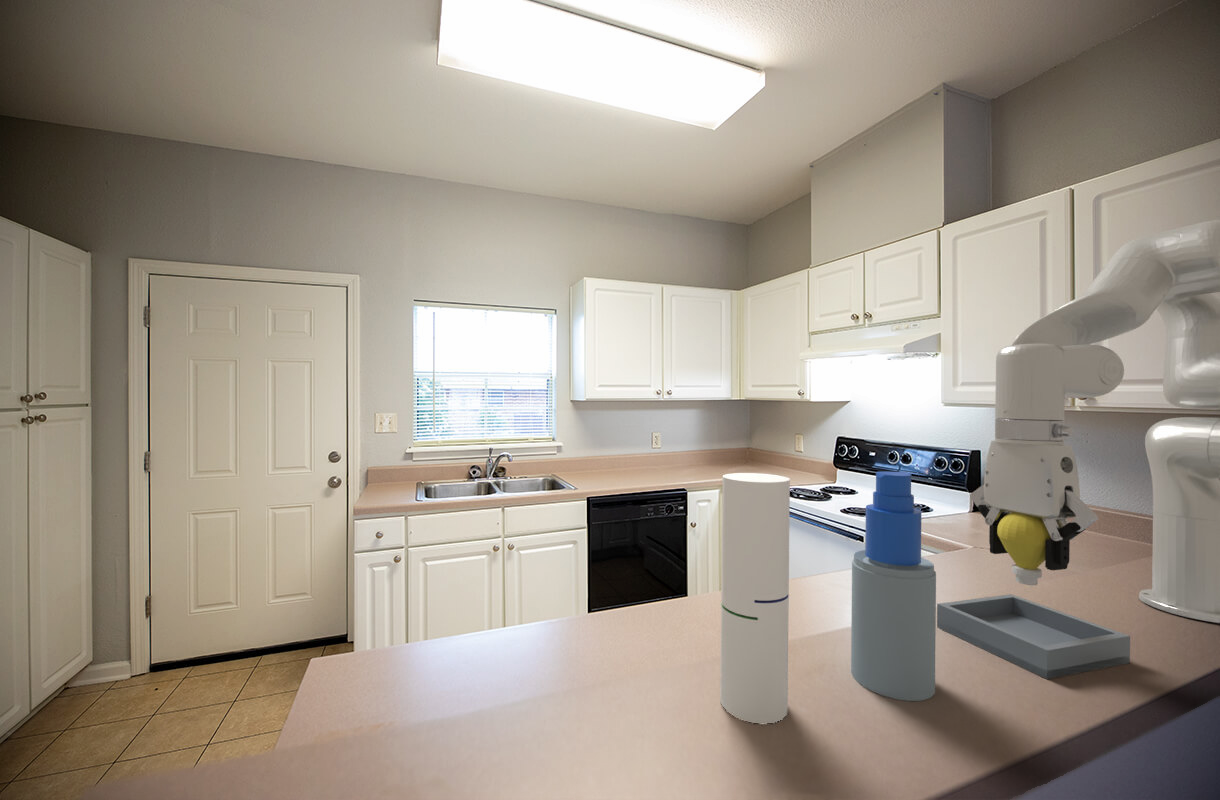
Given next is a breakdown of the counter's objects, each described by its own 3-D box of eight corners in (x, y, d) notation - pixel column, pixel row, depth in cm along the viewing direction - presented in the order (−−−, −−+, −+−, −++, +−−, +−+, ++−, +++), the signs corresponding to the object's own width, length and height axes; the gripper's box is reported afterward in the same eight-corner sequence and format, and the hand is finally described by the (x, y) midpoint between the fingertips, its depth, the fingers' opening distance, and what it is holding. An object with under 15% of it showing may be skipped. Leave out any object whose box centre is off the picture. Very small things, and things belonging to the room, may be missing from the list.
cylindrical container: (796, 725, 53) (799, 482, 53) (727, 723, 53) (730, 481, 53) (776, 687, 60) (778, 473, 60) (714, 685, 60) (717, 472, 61)
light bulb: (986, 573, 76) (986, 505, 76) (1035, 575, 75) (1036, 507, 75) (1016, 589, 69) (1017, 514, 69) (1071, 592, 68) (1072, 517, 68)
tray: (1010, 616, 81) (1011, 594, 81) (1129, 662, 67) (1130, 635, 67) (936, 627, 77) (937, 603, 77) (1047, 679, 63) (1047, 650, 63)
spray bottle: (910, 662, 66) (912, 468, 66) (952, 703, 57) (954, 478, 58) (839, 659, 67) (841, 467, 67) (869, 699, 58) (871, 477, 58)
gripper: (1123, 437, 65) (1121, 579, 65) (987, 429, 81) (985, 542, 81) (1081, 437, 63) (1080, 584, 63) (950, 429, 79) (949, 545, 79)
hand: (1026, 559), depth 72 cm, fingers closed on light bulb, 6 cm apart
